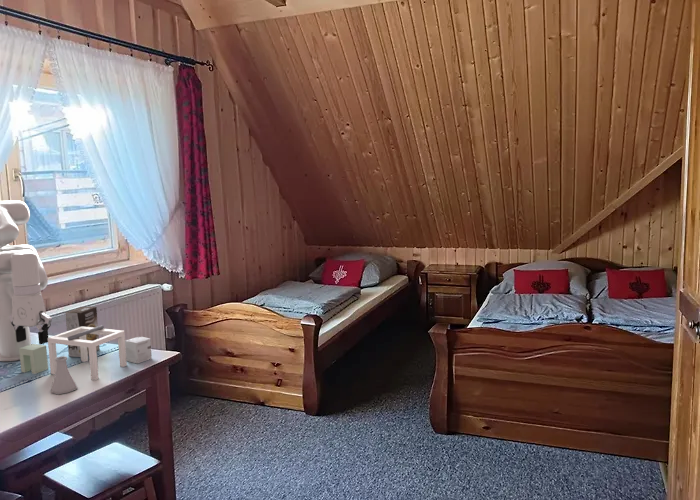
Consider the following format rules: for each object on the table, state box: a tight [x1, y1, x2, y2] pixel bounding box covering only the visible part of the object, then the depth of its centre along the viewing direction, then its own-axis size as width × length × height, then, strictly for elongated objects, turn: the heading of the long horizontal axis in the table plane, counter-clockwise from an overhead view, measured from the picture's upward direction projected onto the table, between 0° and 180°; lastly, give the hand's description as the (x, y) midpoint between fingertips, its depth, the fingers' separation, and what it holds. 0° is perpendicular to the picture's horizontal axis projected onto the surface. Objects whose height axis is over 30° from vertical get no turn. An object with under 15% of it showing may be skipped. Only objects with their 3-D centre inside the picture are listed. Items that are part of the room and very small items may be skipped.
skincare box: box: [125, 336, 153, 364], centre depth 193 cm, size 6×6×7 cm
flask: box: [50, 355, 78, 395], centre depth 167 cm, size 7×7×10 cm
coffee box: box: [64, 306, 101, 358], centre depth 200 cm, size 9×6×16 cm
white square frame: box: [47, 324, 128, 381], centre depth 183 cm, size 18×14×13 cm
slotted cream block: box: [19, 343, 49, 375], centre depth 184 cm, size 6×5×8 cm
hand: (32, 342), depth 183 cm, fingers open, 9 cm apart
